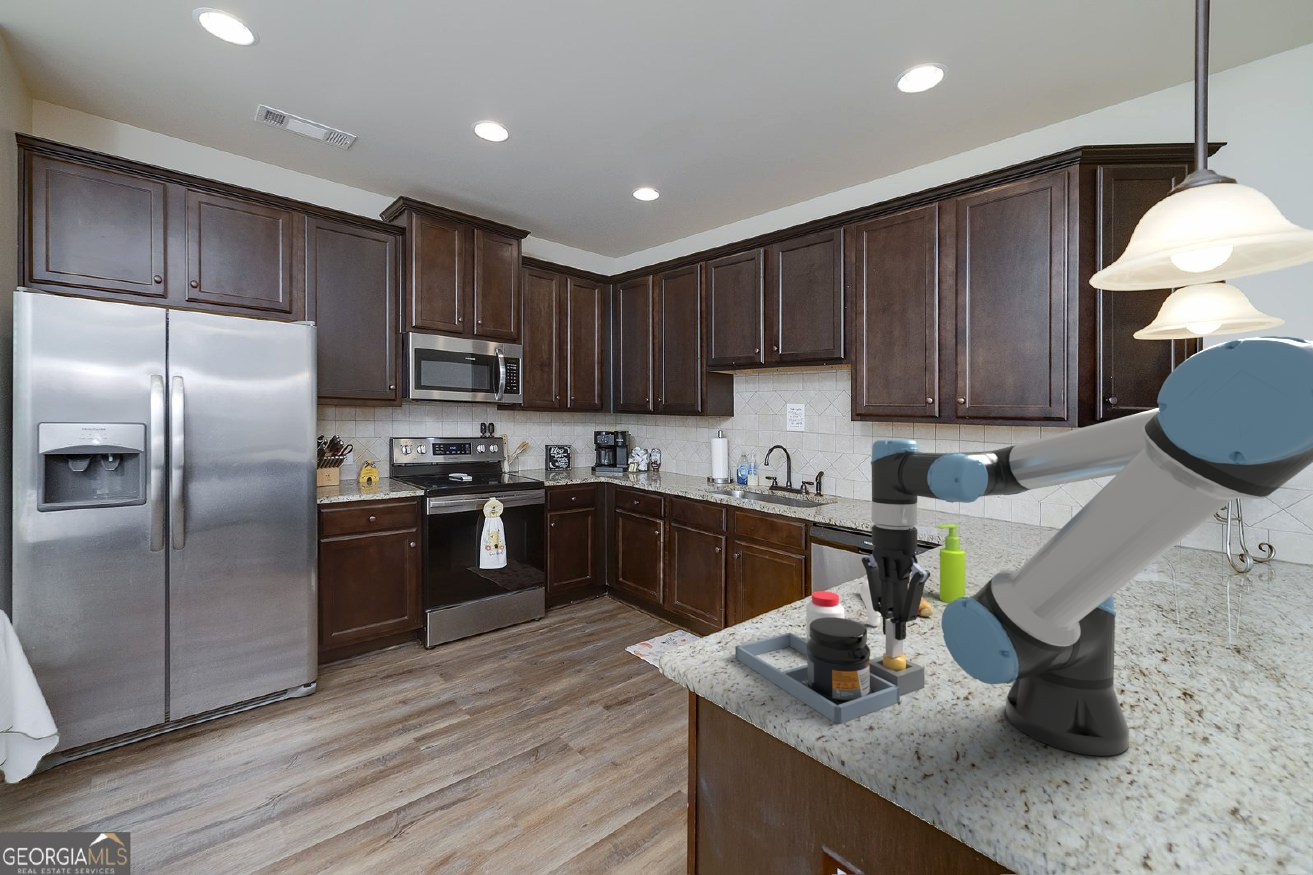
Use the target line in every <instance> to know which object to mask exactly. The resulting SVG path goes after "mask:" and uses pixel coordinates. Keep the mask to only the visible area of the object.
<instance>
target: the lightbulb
mask: <svg viewBox="0 0 1313 875" xmlns="http://www.w3.org/2000/svg"><path fill="white" fill-rule="evenodd" d="M859 595H860V598H861V599H862V602H864V606H865V608H866V609H865V610H866V614H867V623H868V624H869V625H871V626H872V627H877V626H880V624H881V623H880V622H881V617H882V616H881V614H880V613H879V612H878V611H877V612H876V611H874V610H873V606H872V600H871V595H870V590H869V584H868V579H866V580H864V581H863V582H862V583H861V585H860V587H859ZM879 604H880V603H879Z"/></svg>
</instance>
